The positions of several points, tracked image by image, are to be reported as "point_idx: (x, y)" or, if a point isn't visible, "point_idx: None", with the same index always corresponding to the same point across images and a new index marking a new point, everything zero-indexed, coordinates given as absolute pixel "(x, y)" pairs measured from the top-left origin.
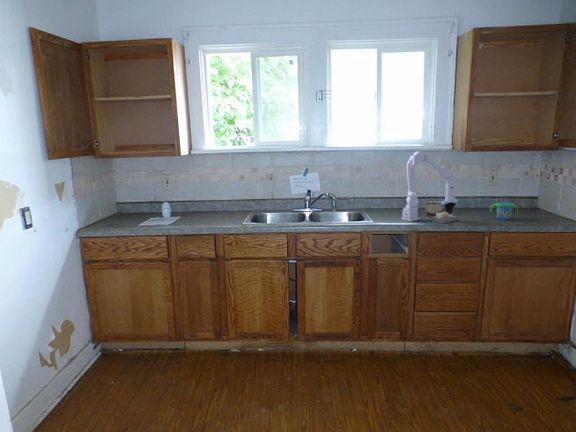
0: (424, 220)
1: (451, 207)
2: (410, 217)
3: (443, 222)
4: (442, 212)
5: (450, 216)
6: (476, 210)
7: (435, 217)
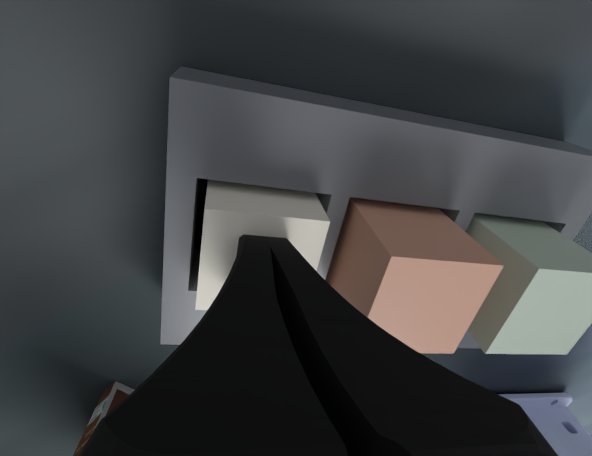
0: (463, 358)
1: (349, 350)
2: (580, 433)
3: (567, 143)
4: (419, 342)
5: (287, 199)
6: None
7: None
